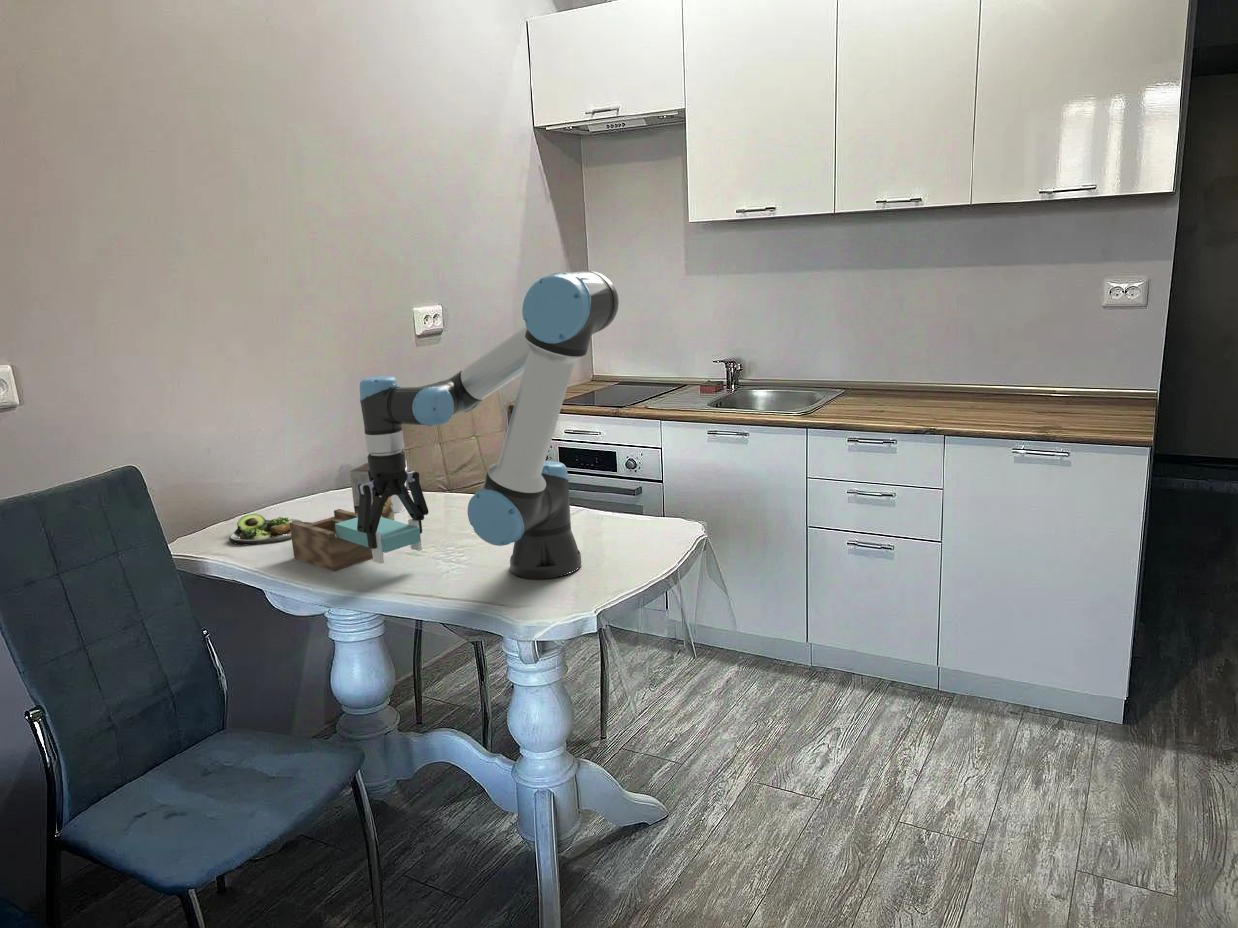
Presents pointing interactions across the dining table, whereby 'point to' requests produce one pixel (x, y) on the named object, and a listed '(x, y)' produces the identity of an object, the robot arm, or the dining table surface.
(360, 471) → the coffee box
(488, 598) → the dining table surface
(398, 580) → the dining table surface
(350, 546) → the walnut box
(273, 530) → the salad plate
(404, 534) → the lid
